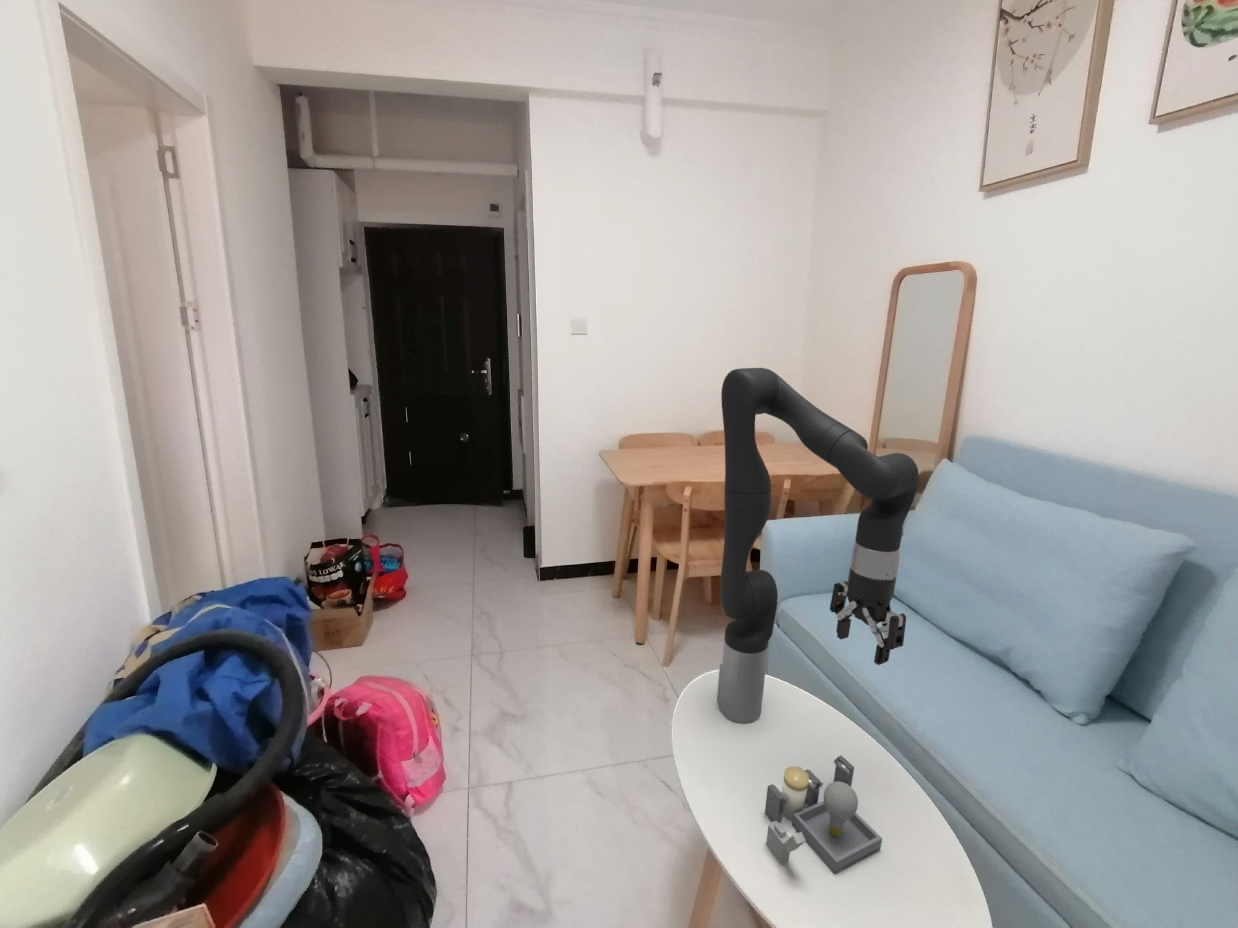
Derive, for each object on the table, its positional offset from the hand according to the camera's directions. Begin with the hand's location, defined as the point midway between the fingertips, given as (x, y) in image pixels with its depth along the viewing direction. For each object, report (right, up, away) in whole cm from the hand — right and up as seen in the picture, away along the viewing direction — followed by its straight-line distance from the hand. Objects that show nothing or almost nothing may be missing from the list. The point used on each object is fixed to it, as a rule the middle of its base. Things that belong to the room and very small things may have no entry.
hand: (860, 649), depth 108 cm
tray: (-6, -31, -5) cm, 32 cm away
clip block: (-9, -29, +2) cm, 30 cm away
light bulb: (-6, -30, -5) cm, 31 cm away
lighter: (-16, -32, -9) cm, 37 cm away
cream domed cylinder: (-13, -29, 0) cm, 31 cm away
